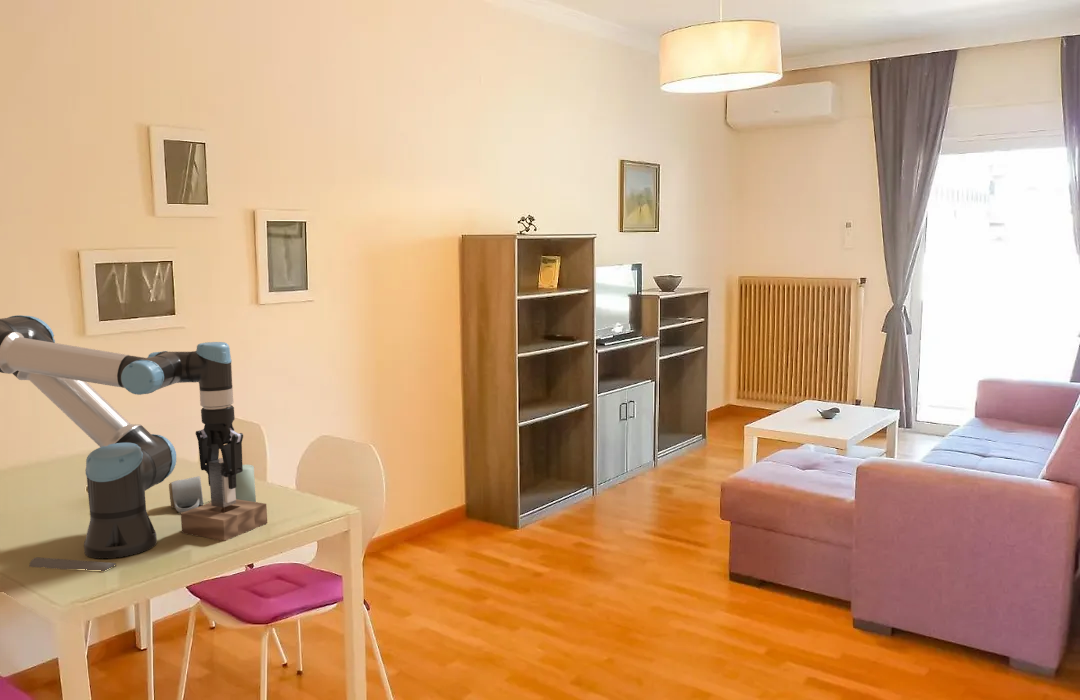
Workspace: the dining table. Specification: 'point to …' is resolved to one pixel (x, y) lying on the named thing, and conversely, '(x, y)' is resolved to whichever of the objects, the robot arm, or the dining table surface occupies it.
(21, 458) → the dining table surface
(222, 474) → the square peg
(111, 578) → the dining table surface
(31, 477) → the dining table surface
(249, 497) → the round peg
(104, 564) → the half round rod
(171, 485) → the ceramic mug
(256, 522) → the socket block
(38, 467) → the dining table surface
